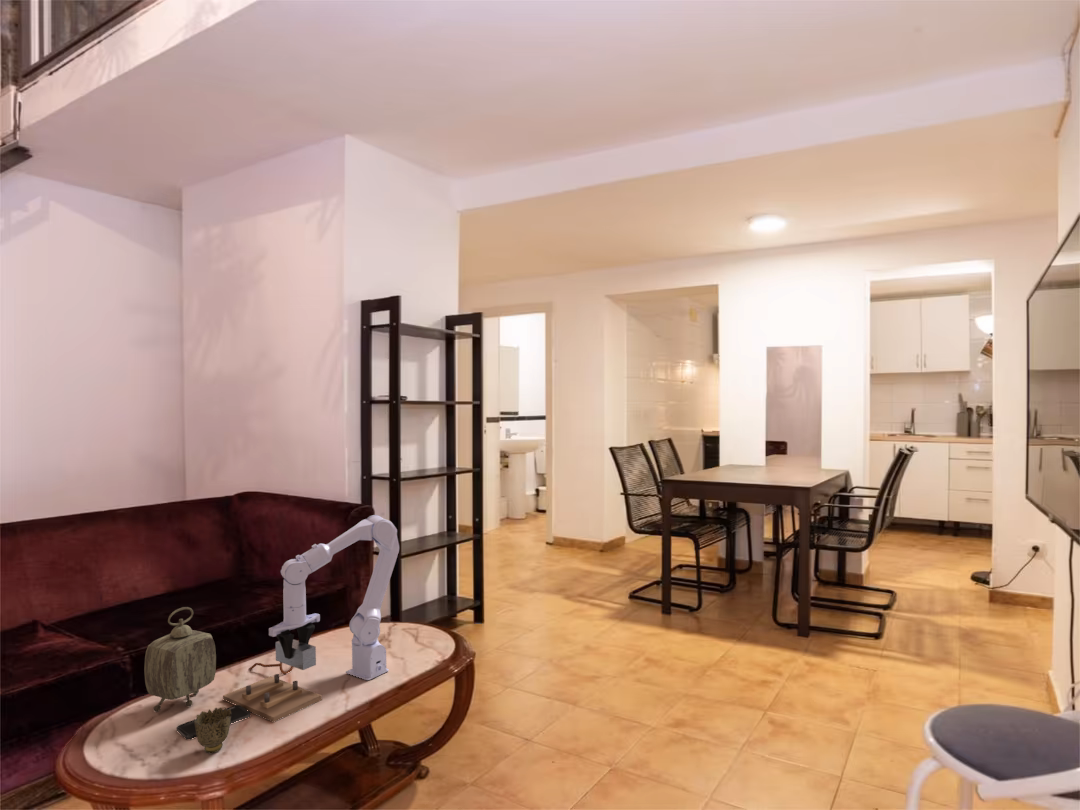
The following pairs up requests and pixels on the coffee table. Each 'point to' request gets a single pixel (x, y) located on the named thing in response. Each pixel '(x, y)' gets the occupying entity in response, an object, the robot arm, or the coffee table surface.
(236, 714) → the phone
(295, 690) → the peg rack
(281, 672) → the glasses
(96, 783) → the coffee table surface
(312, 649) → the metal bar
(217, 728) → the cup
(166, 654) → the tabletop clock
